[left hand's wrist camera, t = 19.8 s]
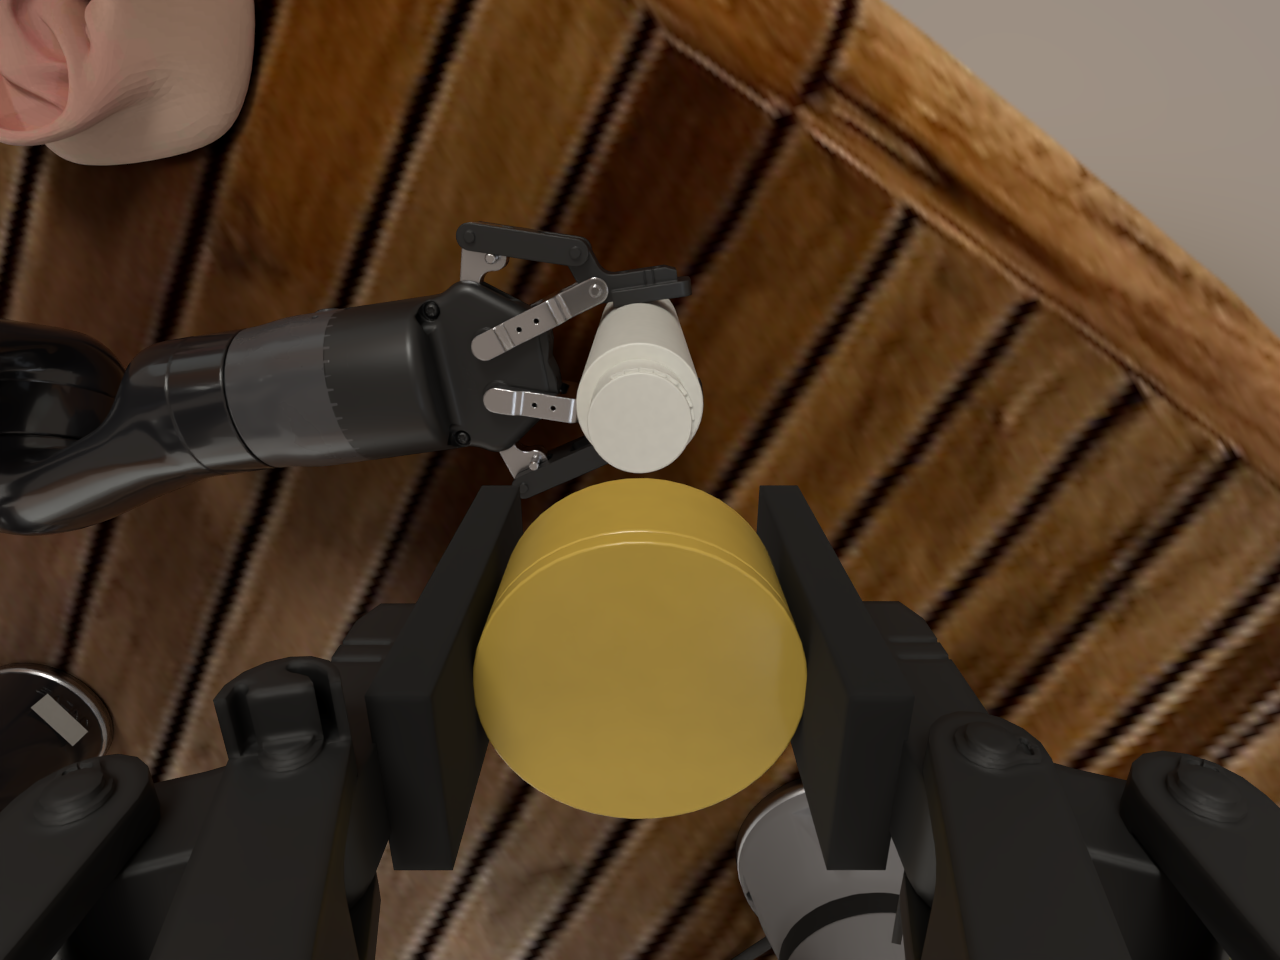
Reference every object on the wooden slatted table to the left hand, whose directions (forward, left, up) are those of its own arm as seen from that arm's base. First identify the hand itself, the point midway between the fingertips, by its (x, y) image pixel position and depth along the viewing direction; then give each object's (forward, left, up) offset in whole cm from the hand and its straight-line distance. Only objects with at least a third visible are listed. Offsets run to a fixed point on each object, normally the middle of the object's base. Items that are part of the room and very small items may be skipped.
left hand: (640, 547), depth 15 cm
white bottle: (0, 0, -28) cm, 28 cm away
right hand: (+2, -2, -22) cm, 22 cm away
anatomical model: (+1, +29, -28) cm, 40 cm away
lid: (0, 0, +4) cm, 4 cm away
